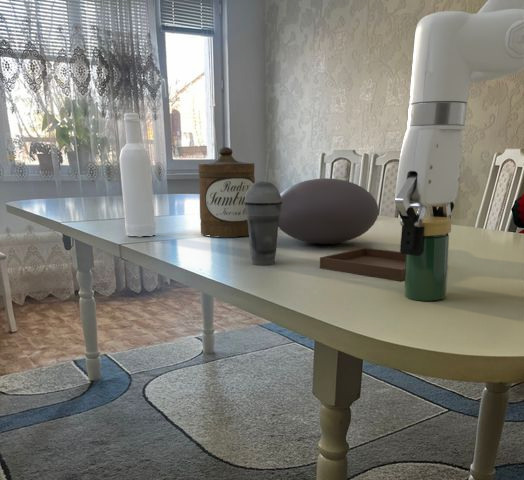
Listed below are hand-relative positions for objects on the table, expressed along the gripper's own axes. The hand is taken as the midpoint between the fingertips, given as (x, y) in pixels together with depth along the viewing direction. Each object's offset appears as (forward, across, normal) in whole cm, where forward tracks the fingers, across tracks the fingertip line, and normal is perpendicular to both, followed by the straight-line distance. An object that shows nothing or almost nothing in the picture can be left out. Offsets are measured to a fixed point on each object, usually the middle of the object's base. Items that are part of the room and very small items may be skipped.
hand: (423, 250), depth 80 cm
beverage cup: (+7, -3, -36) cm, 37 cm away
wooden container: (+7, -25, -72) cm, 76 cm away
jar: (+7, 0, +1) cm, 7 cm away
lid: (-4, 0, 0) cm, 4 cm away
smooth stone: (+7, -30, -43) cm, 53 cm away
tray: (+7, -14, -16) cm, 23 cm away
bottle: (+7, -8, -87) cm, 88 cm away
